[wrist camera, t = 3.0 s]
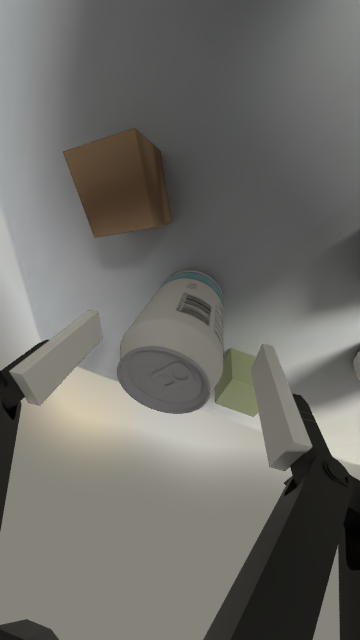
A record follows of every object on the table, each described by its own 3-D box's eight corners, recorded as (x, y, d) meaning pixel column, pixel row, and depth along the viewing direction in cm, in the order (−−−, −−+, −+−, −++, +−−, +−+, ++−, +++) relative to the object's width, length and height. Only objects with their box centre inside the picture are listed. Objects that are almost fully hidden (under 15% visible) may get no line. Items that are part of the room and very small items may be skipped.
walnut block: (106, 166, 15) (62, 151, 11) (160, 151, 14) (134, 128, 10) (124, 230, 18) (94, 237, 14) (171, 222, 17) (154, 227, 12)
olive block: (230, 347, 23) (232, 378, 19) (267, 360, 23) (277, 394, 19) (216, 371, 26) (214, 403, 22) (248, 383, 26) (253, 416, 22)
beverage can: (151, 288, 21) (84, 364, 11) (201, 253, 17) (171, 315, 8) (185, 331, 23) (156, 426, 13) (234, 307, 20) (246, 408, 10)
